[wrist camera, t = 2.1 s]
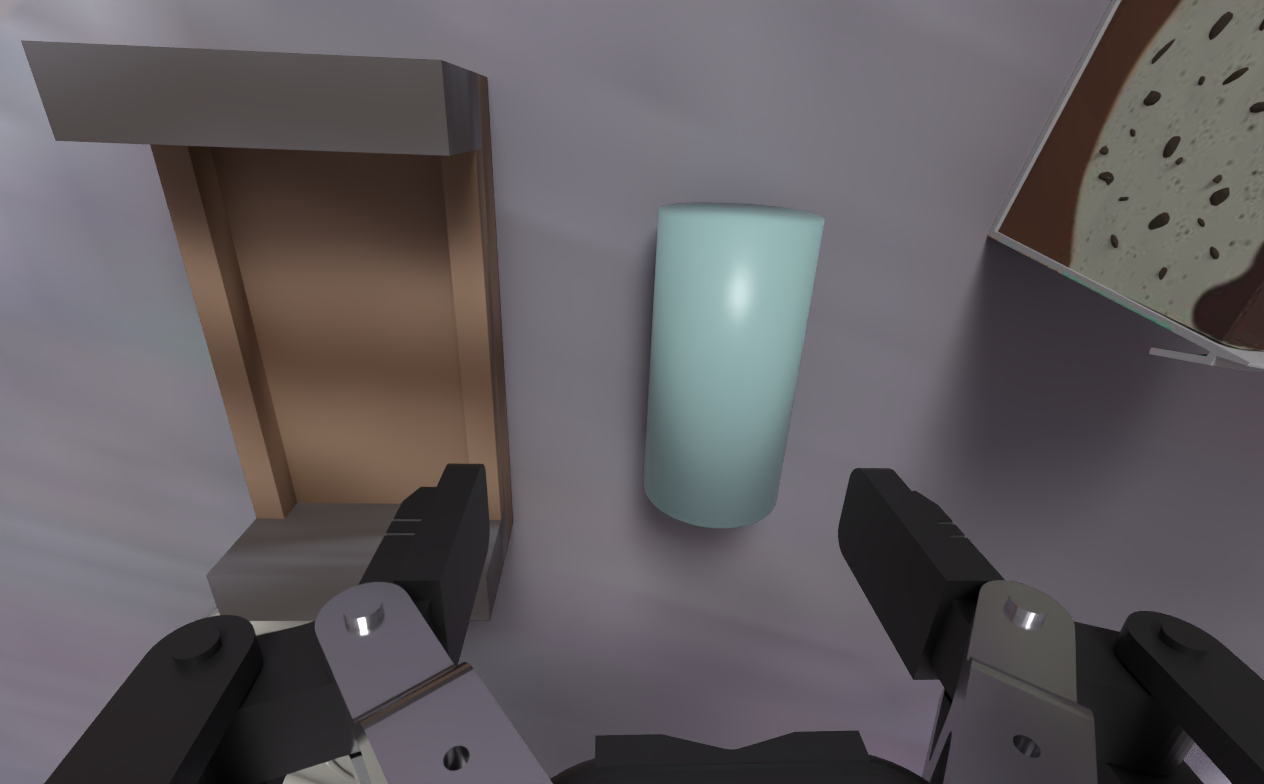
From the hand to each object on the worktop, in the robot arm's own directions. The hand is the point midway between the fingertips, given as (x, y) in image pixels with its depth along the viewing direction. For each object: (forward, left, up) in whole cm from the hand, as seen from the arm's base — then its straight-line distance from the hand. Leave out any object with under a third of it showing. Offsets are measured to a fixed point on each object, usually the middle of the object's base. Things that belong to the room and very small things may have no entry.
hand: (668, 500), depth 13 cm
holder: (0, -10, -10) cm, 14 cm away
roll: (0, +3, -8) cm, 8 cm away
